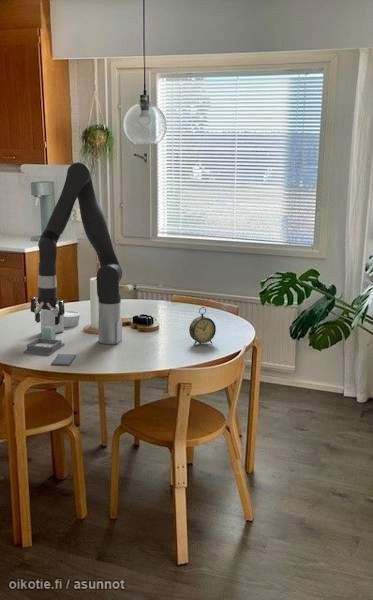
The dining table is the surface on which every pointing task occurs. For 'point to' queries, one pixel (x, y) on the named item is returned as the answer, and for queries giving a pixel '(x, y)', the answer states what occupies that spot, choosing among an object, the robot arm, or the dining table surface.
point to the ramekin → (71, 318)
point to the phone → (63, 359)
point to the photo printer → (51, 320)
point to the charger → (48, 332)
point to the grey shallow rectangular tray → (43, 346)
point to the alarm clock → (202, 329)
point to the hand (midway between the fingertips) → (47, 323)
